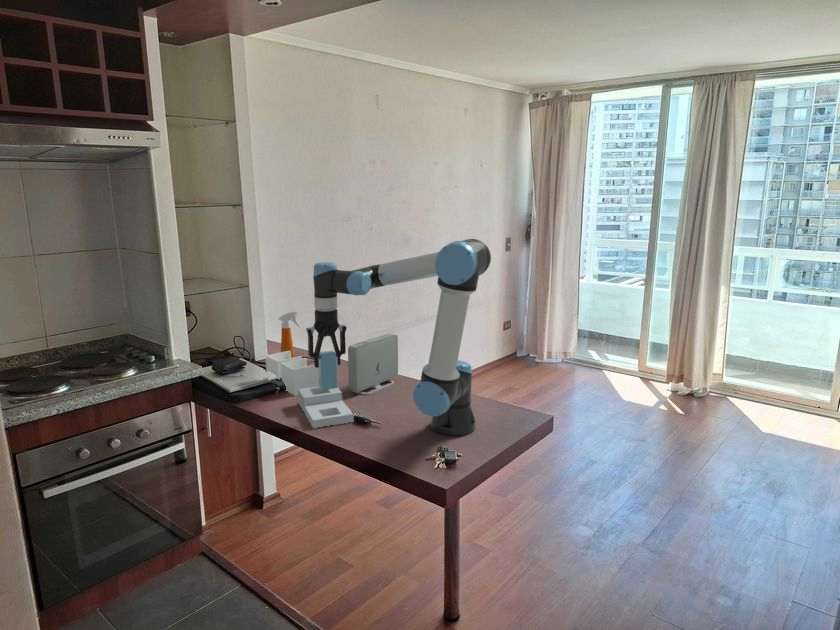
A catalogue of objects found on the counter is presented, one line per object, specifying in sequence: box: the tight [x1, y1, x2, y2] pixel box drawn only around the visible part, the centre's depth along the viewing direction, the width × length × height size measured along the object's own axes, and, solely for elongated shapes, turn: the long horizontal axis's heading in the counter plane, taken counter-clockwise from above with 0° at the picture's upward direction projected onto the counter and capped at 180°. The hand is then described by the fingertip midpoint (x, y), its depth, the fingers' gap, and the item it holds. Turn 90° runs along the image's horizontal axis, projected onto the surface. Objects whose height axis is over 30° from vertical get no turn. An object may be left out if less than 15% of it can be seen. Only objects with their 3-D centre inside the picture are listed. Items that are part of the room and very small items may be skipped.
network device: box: [347, 333, 399, 396], centre depth 227 cm, size 26×9×20 cm, turn 143°
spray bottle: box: [278, 310, 303, 358], centre depth 251 cm, size 7×11×26 cm, turn 86°
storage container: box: [265, 351, 319, 397], centre depth 231 cm, size 25×11×11 cm, turn 40°
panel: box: [298, 386, 354, 429], centre depth 202 cm, size 24×14×6 cm, turn 23°
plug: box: [319, 350, 338, 390], centre depth 193 cm, size 6×5×12 cm
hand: (327, 375), depth 193 cm, fingers closed on plug, 5 cm apart
